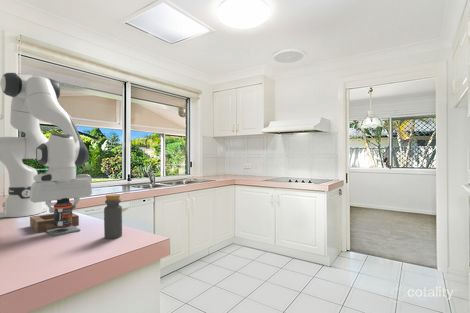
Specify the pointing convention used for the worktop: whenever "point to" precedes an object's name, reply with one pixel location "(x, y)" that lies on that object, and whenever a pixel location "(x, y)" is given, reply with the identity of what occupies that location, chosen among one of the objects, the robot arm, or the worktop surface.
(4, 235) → the worktop surface
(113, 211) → the bottle
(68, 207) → the supplement bottle
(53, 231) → the grey mat
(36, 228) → the frame
